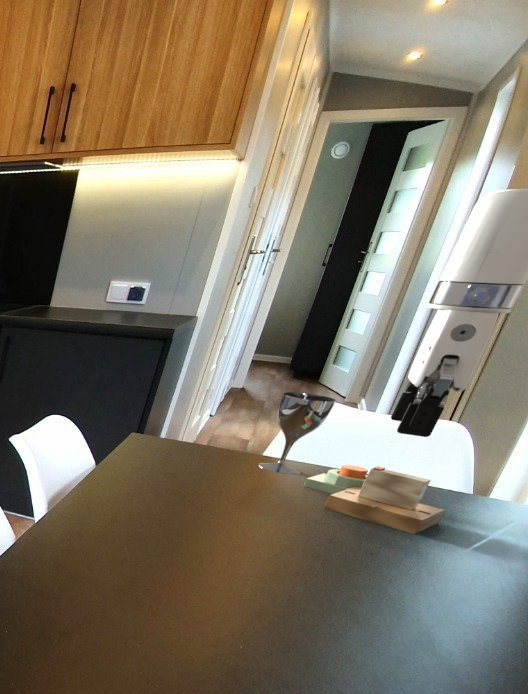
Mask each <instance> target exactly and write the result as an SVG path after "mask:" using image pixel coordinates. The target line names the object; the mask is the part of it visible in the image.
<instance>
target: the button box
mask: <svg viewBox="0 0 528 694" xmlns="http://www.w3.org/2000/svg"><path fill="white" fill-rule="evenodd" d="M340 470H341V468H332V469H328V470H327V473H324V472H323V473H319V474H316V475H314V476H313V475H312V476H311V477H307V478H306V480H305V482H304V484H303V487H304V488H307V489H311V490H316V491H320V492H323V493H327V494H329V495H332V494H335V493H337V492H340V491H343V490H346V489H349V488H352V487H357V488H362V486H363V484H364V482H365V480H366V478H367V476H368V473H367V474H366V476H365V478H364V479H358V478H351V477H347V476H343V475H341V474H339V472H340Z"/></svg>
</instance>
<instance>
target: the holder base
mask: <svg viewBox="0 0 528 694" xmlns="http://www.w3.org/2000/svg"><path fill="white" fill-rule="evenodd" d="M360 490H361V488H357V487H352V488H349V489H346V490H343V491H340V492H337V493H335V494H329V495H328V498H327V500H326V502H325V504H324V507H323V509H326V510H328V511H331V512H336V513H338V514H343V515H346V516H350V517H354V518H356V519H360V520H364V521H366V522H371V523H375V524H378V525H381V526H385V527H389V528H392V529H395V530H400V531H403V532H406V533H409V534H413V535H416V534H418V533H420V532H422V531H425V530H426V529H428V528H430V527H432V526H434V525H437V524H438V523H439V521H440V518H442V516H443V514H444V512H445V509H443V508H439V507H436V506H431V505H427V504H424V503H420V502H419V503H418V505H417V507H416V508H415V509H412V510H408V509H404V508H401V507H397V506H393V505H389V504H386V503H382V502H378V501H374V500H371V499H367V498H363V497H359V496H358V494H359V492H360Z"/></svg>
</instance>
